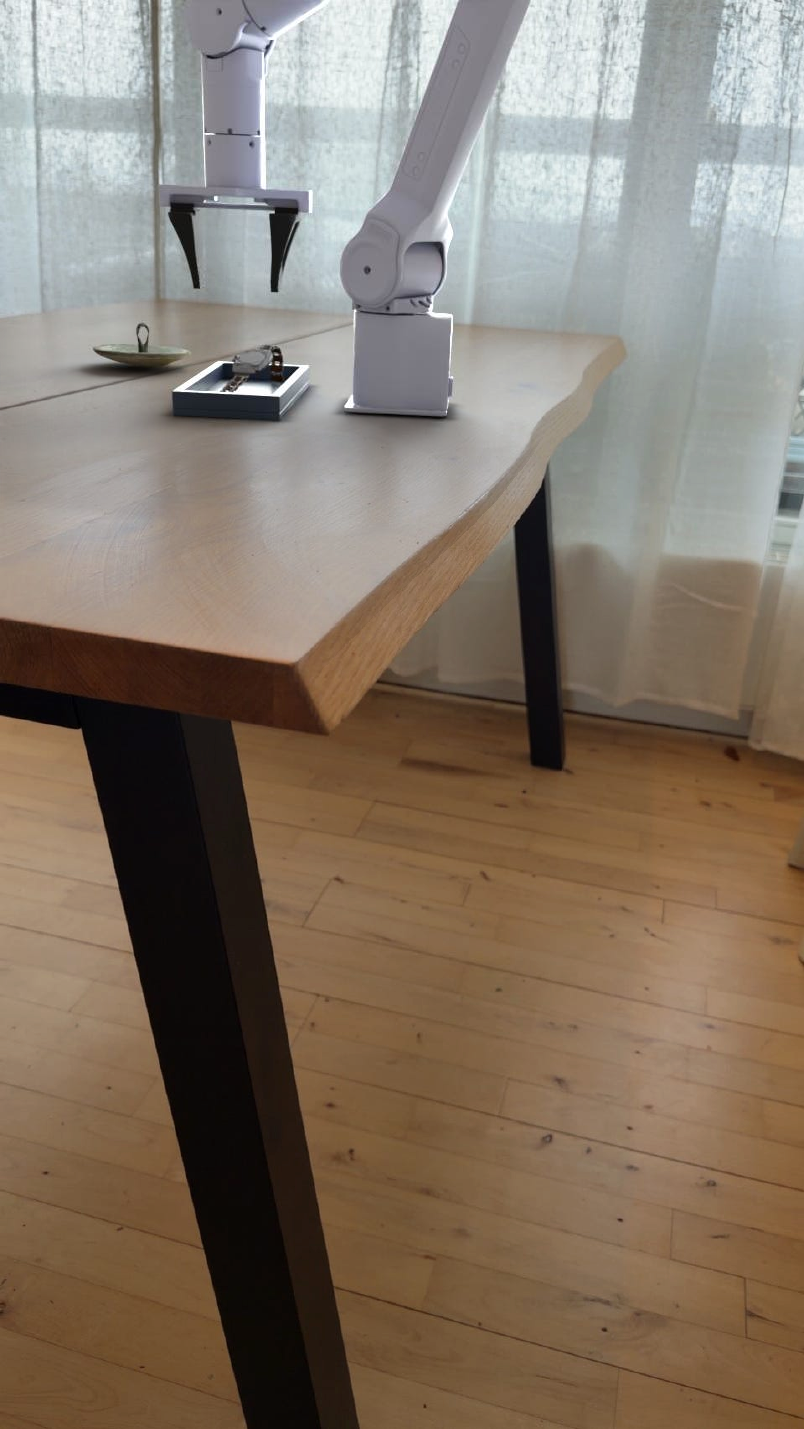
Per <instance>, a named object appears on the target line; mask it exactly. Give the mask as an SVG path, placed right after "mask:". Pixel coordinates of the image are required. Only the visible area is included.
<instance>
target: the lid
mask: <svg viewBox="0 0 804 1429" xmlns="http://www.w3.org/2000/svg"><path fill="white" fill-rule="evenodd" d="M141 328H145V329H146V332H147V337H146V339H145V342H144V343H143V342H142V339H141V338H140V335H139V333H140V331H141ZM135 332H136V333H135V334H136V338H137V344H136V343H135V344H133V343H132V344H131V343H124V344H123V343H121V344H119V343H118V344H116V343H109V344H108V343H107V344H101V345H95V346H93V347H92V350H93V352H94V353H96V354H97V355H98V356H100V357H103V358H105V359H108V360H111V361H114V362H117V363H120V364H125V365H130V366H134V367H142V368H154V367H165V366H168V365H170V364H172V363H175V362H178V361H180V360H183V359H185V358H187V357H190V355H191V354H192V352H191V351H190V350H187V349H185V348H183V349H182V348H177V347H172V346H167V345H154V344H153V345H150V344H149V337H150V328H149V326H148V325H147V324H146V323H145V322H140V323H138V324H137V326H136V328H135Z"/></svg>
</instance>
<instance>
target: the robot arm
mask: <svg viewBox="0 0 804 1429" xmlns="http://www.w3.org/2000/svg"><path fill="white" fill-rule="evenodd" d="M329 2H330V0H189V1H188V5H187V9H186V28H187V32H188V36H189V38H190V40H191V42H192V44H193V46H194V47H195V48H196V49H197V50H198V51H199V52H200V64H201V66H200V67H201V70H200V71H201V94H202V95H201V97H202V98H201V99H202V100H201V102H202V124H203V125H202V130H203V133H202V134H203V161H204V162H203V163H204V185H186V184H185V185H183V184H157V192H158V195H157V196H158V206H159V207H166V208H169V211H168V212H167V216H168V218H169V221H170V223H171V225H172V227H173V229H174V231H175V234H176V235H177V238H178V240H179V242H180V245H181V248H182V250H183V253H184V255H185V258H186V262H187V265H188V268H189V272H190V277H191V282H192V289H194V290H201V289H204V288H205V286H206V283H205V282H206V273H205V261H204V260H205V259H204V224H205V223H204V222H205V209H219V210H220V209H221V210H244V211H245V210H246V211H268V212H269V211H270V212H271V213H269V214H268V215H269V216H268V219H269V234H270V249H271V250H270V251H271V262H270V277H269V278H270V293H280V292H281V291H282V285H283V278H284V273H285V272H284V271H285V267H286V263H287V260H288V256H289V253H290V251H291V247H292V244H293V242H294V239H295V237H296V234H297V232H298V230H299V227H300V226H301V222H302V220H303V217H302V214H303V213H304V214H306V213H307V214H309V213H310V214H311V213H313V190H302V189H301V190H300V189H278V188H275V189H274V188H266V138H265V135H266V134H265V130H266V128H265V78H266V77H268V61H269V58H270V55H271V54H272V52H273V50H274V48H275V45H276V43H277V38H278V37H279V36H280V35H282V34H284V33H285V32H287V31H288V30H290V29H291V28H293V27H294V26H296V25H298V23H300V22H302V21H303V20H304V19H306V18H308V17H310V15H312V14H314V13H315V12H317V11H318V10H320V9H322V8H323V7H324V6H326V5H327V4H328V3H329ZM530 4H531V0H457V3H456V5H455V8H454V10H453V13H452V16H451V19H450V21H449V25H448V27H447V29H446V33H445V35H444V38H443V41H442V44H441V46H440V50H439V52H438V55H437V57H436V61H435V63H434V66H433V69H432V72H431V74H430V77H429V79H428V82H427V85H426V88H425V90H424V93H423V96H422V99H421V101H420V104H419V107H418V111H417V112H416V116H415V118H414V121H413V124H412V126H411V130H410V132H409V134H408V138H407V140H406V143H405V146H404V148H403V151H402V154H401V157H400V160H399V162H398V165H397V167H396V171H395V173H394V176H393V179H392V182H391V183H390V184H391V185H390V187H389V189H388V190H387V191H386V193H385V194H384V195H383V196H382V197H381V198H380V199H379V200H377V202H375V203H374V204H373V206H372V207H371V208H370V209H369V210H367V212H366V214H365V216H364V219H363V222H362V224H361V226H360V228H359V230H358V232H357V233H356V234H355V235H354V236H352V238H350V240H349V241H348V242H347V243H346V245H345V246H344V248H343V250H342V252H341V256H340V260H339V277H340V281H341V284H342V287H343V289H344V291H345V294H346V295H347V296H348V297H349V298H350V300H351V310H353V348H352V350H353V351H352V352H353V353H352V354H353V355H352V394H351V396H350V397H349V398H348V400H347V402H346V404H345V405H344V409H343V410H344V412H347V413H361V414H362V413H363V414H364V413H365V414H383V415H384V414H385V415H400V416H401V415H403V416H404V415H405V416H406V415H408V416H423V417H424V416H425V417H446V416H447V415H448V408H449V398H452V397H453V384H454V377H453V376H450V375H451V358H452V342H453V341H452V339H453V317H454V316H453V315H452V314H450V313H437V312H432V311H433V308H434V297H435V296H437V294H438V293H440V291H441V290H442V288H443V286H444V284H445V282H446V279H447V278H446V277H447V274H448V273H447V271H448V258H447V257H448V251H449V246H450V243H451V241H452V239H453V236H454V232H453V228H452V226H451V222H450V219H449V215H448V212H449V209H450V206H451V204H452V201H453V198H454V196H455V194H456V191H457V188H458V186H459V184H460V181H461V178H462V176H463V173H464V171H465V169H466V166H467V163H468V161H469V158H470V157H471V156H470V155H471V153H472V150H473V148H474V146H475V143H476V140H477V138H478V136H479V133H480V130H481V128H482V126H483V123H484V120H485V117H486V115H487V112H488V110H489V108H490V105H491V103H492V100H493V97H494V94H495V92H496V90H497V87H498V85H499V82H500V80H501V77H502V74H503V72H504V69H505V67H506V64H507V62H508V60H509V57H510V54H511V52H512V49H513V46H514V44H515V41H516V39H517V36H518V34H519V32H520V29H521V26H522V24H523V21H524V18H525V16H526V14H527V11H528V8H529V6H530ZM218 197H219V198H222V197H223V198H243V199H244V198H245V199H253V202H254V203H255V204H253V203H252V204H251V203H231V202H230V203H228V202H215V201H218ZM206 201H207V202H206ZM210 201H212V202H210ZM258 203H259V204H258ZM260 203H261V204H260ZM272 212H273V213H272ZM301 213H302V214H301Z"/></svg>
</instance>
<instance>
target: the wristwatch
mask: <svg viewBox="0 0 804 1429" xmlns="http://www.w3.org/2000/svg"><path fill="white" fill-rule="evenodd" d="M282 353H283V352H282V349H281V348H280V347H279V346H277V345H276V344H274V345H269V344H268V343H267V344H263V345H261V346H260V347H259V349H257V348H255V349H250V350H245V351H244V352H243V353H241V355H239V356H237V355H234V357H233V358H232V360H231V362H233V363H234V364H233V366H232V371H233V373H234V374H235V376H234V377H233V378H232V379H231V381H229V382H228V383H227V385H225V386H224V387H223V389H222V390H221V391H220V392H226V391H229V392H228V393H234V391H237V390H238V387H239V386H241V385H242V384H243V383H242V382H245V381H246V380H247V378H248V377H249V376H250V375H254V374H256V372H261V371H262V370H264V369H265V368H266V367H267V366H268V365H269V364H271V366H270V371H271V372H272V373H271V375H270V377H271V381H272V382H273V383H274V384H275V382H276V381H278V382H280V383H281V384H283V382H284V379H283V375H282V373H283V366H284V365H285V364H283V363H284V355H283V354H282ZM276 364H279V365H276ZM274 372H279V373H274ZM275 374H279V375H278V376H277V375H275ZM239 377H242V378H239ZM234 381H235V382H234ZM237 382H238V383H237ZM230 386H233V387H230Z"/></svg>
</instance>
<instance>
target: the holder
mask: <svg viewBox="0 0 804 1429" xmlns="http://www.w3.org/2000/svg"><path fill="white" fill-rule="evenodd" d="M233 364H234V363H233V362H232V361H216V362H215V363H212V365H210V366H208V367H207V368H205V369H204V370H202V371H201V372H199V373H197V375H195V376H193V377H192V378H190V379H189V380H187V381H185V382H184V383H183V384H181V385H180V386H178V387H176V388H175V389H174V390H172V391H171V402H172V415H173V416H184V417H203V418H220V419H221V418H222V419H223V418H224V419H244V420H263V421H281V419H282V418H283V417H284V416H285V415H286V414H287V413H288V411H289V410H290V409H291V408H292V407H293V406H294V404H295V403H296V402H297V401H298V400H299V399H300V397H301V396H302V395H304V393H305V392H306V391H307V389H308V388H309V387H310V366H309V365H301V364H300V365H299V364H283V365H284V366H283V373H282V375H283V379H284V382H283V384H281V383H280V382H278V381H276V382H275V384H274V383H273V382H272V381H271V377H270V375H271V373H272V372H271V371H270V366H271V364H272V363H270V364H269V365H268V366H267V367H266V368H265V369H264V370H262V371H261V372H256V374H254V375H250V376H249V377H248V378H247V380H246V381H245V382H242V383H243V384H242V385H241V386H239V387H238V390H237V391H234V393H228V392H229V391H226V392H220V391H221V390H222V389H223V387H224V386H225V385H227V383H228V382H229V381H231V379H232V378H233V377H234V376H235V374H234V373H233V371H232V366H233ZM275 364H276V365H279V364H278V363H275ZM274 373H279V372H274ZM275 375H277V376H278V375H279V374H275ZM239 378H242V377H239ZM234 382H235V381H234ZM237 383H238V382H237ZM230 387H233V386H230Z"/></svg>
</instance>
